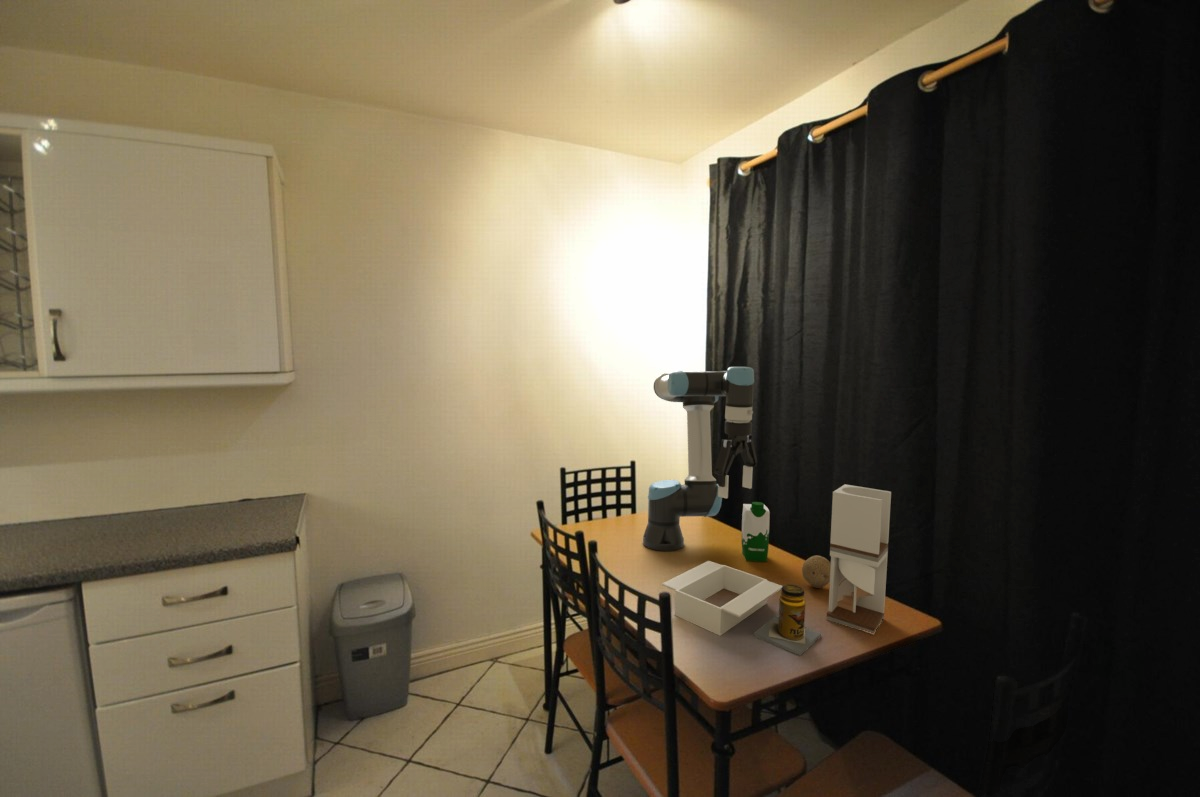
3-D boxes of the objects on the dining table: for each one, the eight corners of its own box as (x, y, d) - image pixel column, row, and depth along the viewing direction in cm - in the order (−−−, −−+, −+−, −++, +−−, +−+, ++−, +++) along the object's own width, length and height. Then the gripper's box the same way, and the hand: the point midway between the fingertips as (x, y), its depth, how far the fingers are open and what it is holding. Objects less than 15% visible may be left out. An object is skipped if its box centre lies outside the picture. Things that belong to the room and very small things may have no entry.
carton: (660, 608, 143) (660, 584, 143) (709, 581, 160) (709, 560, 160) (737, 643, 126) (738, 616, 125) (783, 609, 143) (784, 585, 142)
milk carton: (743, 562, 176) (745, 504, 174) (739, 551, 185) (741, 497, 183) (770, 563, 175) (772, 505, 173) (764, 553, 184) (766, 498, 182)
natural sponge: (830, 598, 150) (831, 564, 149) (798, 590, 155) (799, 558, 154) (834, 586, 158) (835, 554, 157) (803, 579, 162) (805, 548, 162)
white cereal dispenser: (826, 620, 138) (832, 491, 135) (838, 605, 146) (844, 484, 143) (873, 635, 130) (881, 500, 127) (883, 619, 138) (891, 491, 135)
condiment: (805, 644, 125) (807, 596, 123) (768, 637, 128) (770, 590, 127) (805, 629, 131) (807, 584, 130) (770, 623, 134) (771, 578, 133)
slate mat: (753, 635, 130) (753, 632, 130) (776, 618, 138) (776, 615, 138) (800, 655, 121) (800, 652, 121) (821, 636, 130) (821, 633, 130)
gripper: (726, 427, 136) (723, 504, 139) (771, 417, 154) (767, 486, 157) (702, 423, 142) (700, 498, 144) (748, 414, 159) (745, 481, 162)
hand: (735, 492), depth 151 cm, fingers open, 13 cm apart
